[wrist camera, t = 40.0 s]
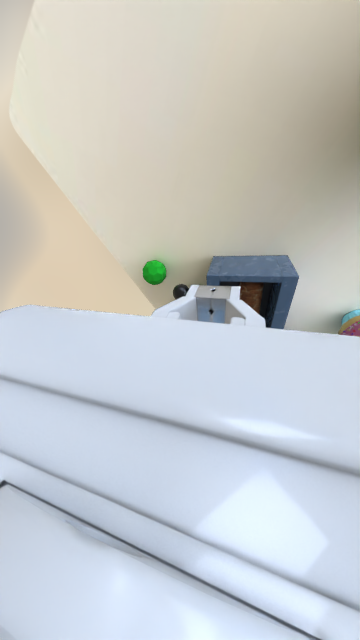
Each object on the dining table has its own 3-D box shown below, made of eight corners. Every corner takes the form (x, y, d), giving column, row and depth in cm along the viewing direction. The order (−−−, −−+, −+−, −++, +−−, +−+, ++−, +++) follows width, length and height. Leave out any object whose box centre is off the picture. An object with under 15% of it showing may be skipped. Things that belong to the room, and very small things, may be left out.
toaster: (287, 255, 33) (299, 276, 26) (264, 350, 47) (267, 380, 40) (213, 256, 36) (206, 275, 29) (212, 344, 50) (207, 371, 44)
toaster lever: (176, 283, 36) (170, 283, 33) (192, 284, 35) (188, 284, 32) (175, 341, 39) (170, 347, 36) (190, 343, 38) (186, 349, 35)
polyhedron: (165, 255, 39) (157, 263, 35) (171, 277, 41) (164, 287, 38) (144, 259, 40) (134, 267, 37) (152, 279, 43) (143, 289, 39)
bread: (223, 344, 46) (221, 361, 42) (238, 271, 34) (237, 285, 30) (249, 349, 45) (250, 367, 40) (275, 275, 33) (279, 290, 29)
